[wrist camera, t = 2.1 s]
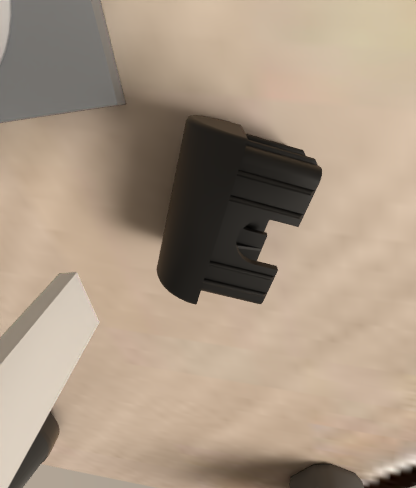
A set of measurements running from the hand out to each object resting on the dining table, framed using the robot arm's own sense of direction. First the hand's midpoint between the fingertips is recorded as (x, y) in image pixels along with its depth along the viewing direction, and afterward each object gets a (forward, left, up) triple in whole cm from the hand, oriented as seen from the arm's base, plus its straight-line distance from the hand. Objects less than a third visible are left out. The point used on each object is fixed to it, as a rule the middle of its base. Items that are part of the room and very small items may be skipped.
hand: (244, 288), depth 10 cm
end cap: (-1, 0, -11) cm, 11 cm away
